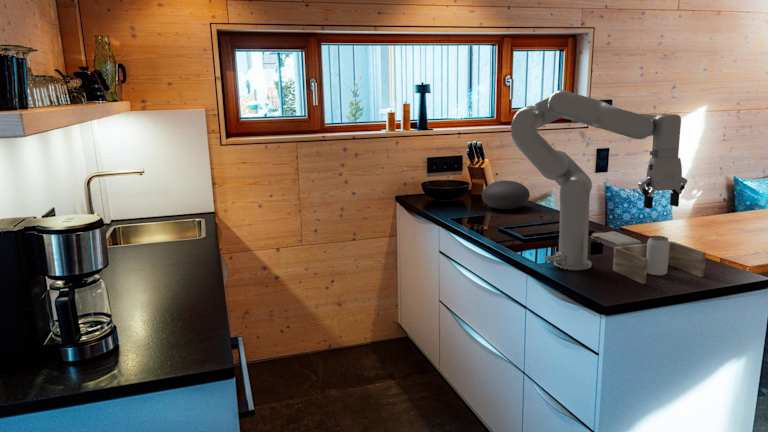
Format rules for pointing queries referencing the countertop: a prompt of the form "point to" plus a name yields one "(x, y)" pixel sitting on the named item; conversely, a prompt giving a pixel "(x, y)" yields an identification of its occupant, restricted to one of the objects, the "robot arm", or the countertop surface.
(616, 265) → the wooden u-shaped stand
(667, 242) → the can
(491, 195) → the flattened ellipsoid
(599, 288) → the countertop surface
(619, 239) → the washcloth
